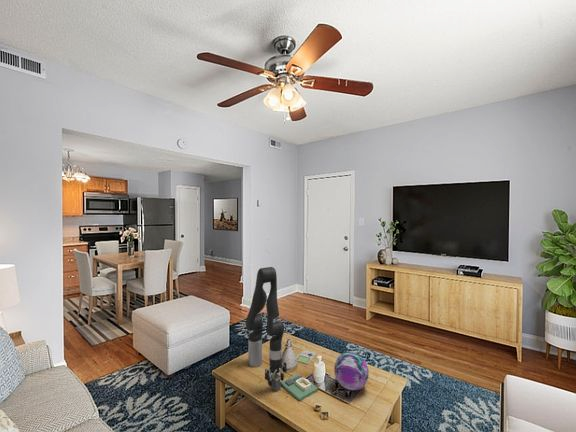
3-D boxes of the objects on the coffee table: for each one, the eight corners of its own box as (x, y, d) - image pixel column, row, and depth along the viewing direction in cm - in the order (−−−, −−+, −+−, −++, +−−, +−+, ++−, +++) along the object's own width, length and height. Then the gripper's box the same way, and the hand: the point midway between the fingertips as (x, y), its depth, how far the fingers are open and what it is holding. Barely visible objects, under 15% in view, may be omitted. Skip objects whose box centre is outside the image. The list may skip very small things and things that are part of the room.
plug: (271, 387, 163) (271, 374, 162) (276, 384, 165) (275, 372, 164) (276, 391, 158) (275, 378, 158) (281, 389, 161) (280, 376, 160)
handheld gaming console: (316, 352, 199) (307, 363, 186) (316, 354, 199) (307, 365, 186) (303, 349, 204) (294, 359, 190) (303, 351, 204) (294, 361, 191)
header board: (280, 384, 165) (280, 379, 165) (298, 375, 173) (297, 370, 173) (299, 401, 151) (299, 395, 150) (317, 390, 159) (317, 384, 159)
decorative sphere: (365, 402, 149) (365, 367, 148) (330, 392, 157) (330, 358, 157) (370, 381, 167) (371, 349, 167) (338, 373, 176) (338, 343, 175)
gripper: (281, 349, 168) (281, 375, 169) (262, 357, 159) (262, 384, 160) (289, 354, 162) (289, 381, 163) (269, 363, 153) (269, 391, 154)
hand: (276, 383), depth 161 cm, fingers open, 8 cm apart
